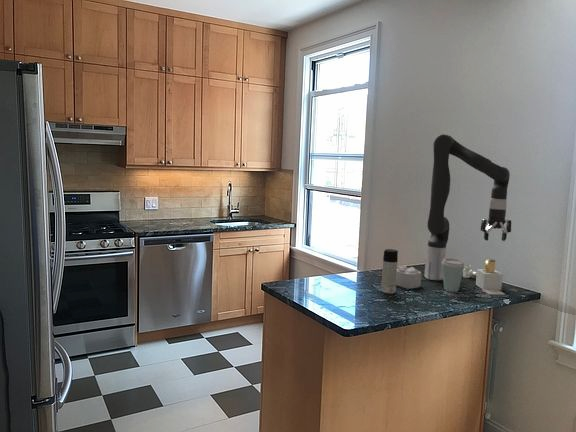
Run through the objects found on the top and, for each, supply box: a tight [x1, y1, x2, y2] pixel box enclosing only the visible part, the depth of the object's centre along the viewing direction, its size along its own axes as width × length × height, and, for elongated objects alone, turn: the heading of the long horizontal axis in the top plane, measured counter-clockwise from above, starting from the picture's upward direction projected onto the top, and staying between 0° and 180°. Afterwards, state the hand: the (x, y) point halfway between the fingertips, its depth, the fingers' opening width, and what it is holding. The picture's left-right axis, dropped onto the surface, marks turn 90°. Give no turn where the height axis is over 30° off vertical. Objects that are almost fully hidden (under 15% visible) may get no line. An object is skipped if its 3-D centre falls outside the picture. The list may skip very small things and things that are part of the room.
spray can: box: [380, 248, 399, 294], centre depth 224 cm, size 7×7×20 cm
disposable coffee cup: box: [442, 257, 466, 293], centre depth 231 cm, size 11×11×15 cm
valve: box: [462, 264, 477, 279], centre depth 255 cm, size 7×7×12 cm
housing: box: [475, 268, 504, 291], centre depth 239 cm, size 9×9×8 cm
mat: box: [482, 289, 506, 296], centre depth 230 cm, size 8×7×1 cm
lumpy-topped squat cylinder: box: [396, 265, 422, 290], centre depth 239 cm, size 10×13×9 cm
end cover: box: [484, 258, 496, 273], centre depth 238 cm, size 4×4×11 cm
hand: (494, 240), depth 236 cm, fingers open, 8 cm apart
